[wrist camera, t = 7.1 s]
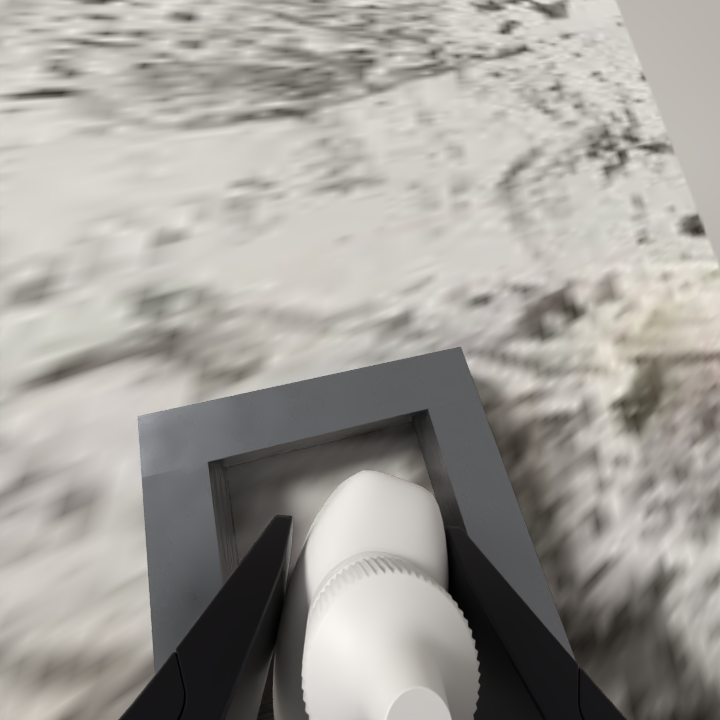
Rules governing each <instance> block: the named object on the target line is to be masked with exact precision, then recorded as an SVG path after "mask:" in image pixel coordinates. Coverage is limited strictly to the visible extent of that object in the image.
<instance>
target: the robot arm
mask: <svg viewBox="0 0 720 720" xmlns="http://www.w3.org/2000/svg"><path fill="white" fill-rule="evenodd" d="M444 531H445V537H446V545H447V554H448V568H449V590H448V594H450V595H451V597H452V599H453V600H454V601H455V602H456V603H457V604H458V608H459V609H460V610H462V611H463V617H464V618H465V619H466V620H468V627H469V628H470V629H471V630H472V638H473V639H474V640H475V649H476V650H477V651H478V654H477V660H478V661H479V662H480V664H479V667H478V672H479V673H480V677H479V680H478V683H479V684H480V688H479V690H478V692H477V693H478V695H479V698H478V700H477V702H476V706H477V709H476V711H475V713H474V714H473V716H474V720H627V719H626V718H625V717H624V716H623V714H622V713H621V712H620V711H619V710H618V709H617V708H616V707H615V705H614V704H613V703H612V702H611V701H610V700H609V699H608V698H607V696H606V695H605V694H604V693H603V692H602V691H601V690H600V689H599V687H598V686H597V685H596V684H595V683H594V682H593V680H592V679H591V678H590V677H589V676H588V675H587V673H586V672H585V671H584V670H583V669H582V668H579V665H578V663H577V662H576V661H575V660H574V658H573V657H572V656H571V655H570V654H569V653H568V651H567V650H566V649H565V648H564V647H563V646H562V645H561V643H560V642H559V641H558V640H557V639H556V638H555V636H554V635H553V634H552V633H551V632H550V631H549V629H548V628H547V627H546V626H545V625H544V624H543V622H542V621H541V620H540V619H539V618H538V617H537V615H536V614H535V613H534V612H533V611H532V610H531V608H530V607H529V606H528V605H527V604H526V603H525V601H524V600H523V599H522V598H521V597H520V596H519V594H518V593H517V592H516V591H515V590H514V589H513V587H512V586H511V585H510V584H509V583H508V582H507V580H506V579H505V578H504V577H503V576H502V575H501V573H500V572H499V571H498V570H497V569H496V568H495V566H494V565H493V564H492V563H491V562H490V561H489V559H488V558H487V557H486V556H485V555H484V554H483V552H482V551H481V550H480V549H479V548H478V547H477V545H476V544H475V543H474V542H473V541H472V540H471V538H470V537H469V536H468V535H467V534H466V533H465V531H464V530H463V529H462V528H460V527H455V526H445V527H444ZM292 534H293V517H292V516H286V515H277V516H275V517H274V518H273V520H272V521H271V522H270V524H269V525H268V526H267V528H266V529H265V530H264V532H263V533H262V534H261V536H260V537H259V538H258V539H257V541H256V542H255V543H254V545H253V546H252V547H251V549H250V550H249V551H248V553H247V554H246V555H245V557H244V558H243V559H242V561H241V562H240V563H239V565H238V566H237V567H236V569H235V570H234V571H233V573H232V574H231V575H230V577H229V578H228V579H227V581H226V582H225V583H224V585H223V586H222V587H221V589H220V590H219V591H218V592H217V594H216V595H215V596H214V598H213V599H212V600H211V602H210V603H209V604H208V606H207V607H206V608H205V610H204V611H203V612H202V614H201V615H200V616H199V618H198V619H197V620H196V622H195V623H194V624H193V626H192V627H191V628H190V630H189V631H188V632H187V634H186V635H185V636H184V638H183V639H182V640H181V642H180V643H179V644H178V645H177V647H176V648H175V652H172V653H171V654H170V656H169V657H168V658H167V660H166V661H165V662H164V664H163V665H162V666H161V668H160V669H159V670H158V672H157V673H156V674H155V676H154V677H153V678H152V679H151V681H150V682H149V683H148V684H147V686H146V687H145V688H144V689H143V691H142V692H141V693H140V694H139V696H138V697H137V698H136V700H135V701H134V702H133V703H132V704H131V706H130V707H129V708H128V709H127V710H126V711H125V713H124V714H123V715H122V716H121V717H120V718H119V720H256V719H257V715H258V711H259V707H260V703H261V699H262V695H263V691H264V687H265V683H266V679H267V675H268V671H269V667H270V663H271V659H272V655H273V651H274V647H275V643H276V639H277V633H278V628H279V622H280V617H281V612H282V608H283V604H284V598H285V591H286V584H287V576H288V569H289V562H290V555H291V547H292Z"/></svg>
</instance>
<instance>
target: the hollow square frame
mask: <svg viewBox="0 0 720 720" xmlns="http://www.w3.org/2000/svg"><path fill="white" fill-rule="evenodd" d="M409 422H413V424H414V427H415V430H416V434H417V437H418V440H419V443H420V447H421V450H422V453H423V457H424V460H425V463H426V467H427V470H428V473H429V477H430V480H431V483H432V487H433V490H434V493H435V496H436V500H437V503H438V506H439V509H440V513H441V516H442V520H443V523H444V526H455V527H460V528H462V529H463V530H464V531H465V533H466V534H467V535H468V536H469V537H470V538H471V540H472V541H473V542H474V543H475V544H476V545H477V547H478V548H479V549H480V550H481V551H482V552H483V554H484V555H485V556H486V557H487V558H488V559H489V561H490V562H491V563H492V564H493V565H494V566H495V568H496V569H497V570H498V571H499V572H500V573H501V575H502V576H503V577H504V578H505V579H506V580H507V582H508V583H509V584H510V585H511V586H512V587H513V589H514V590H515V591H516V592H517V593H518V594H519V596H520V597H521V598H522V599H523V600H524V601H525V603H526V604H527V605H528V606H529V607H530V608H531V610H532V611H533V612H534V613H535V614H536V615H537V617H538V618H539V619H540V620H541V621H542V622H543V624H544V625H545V626H546V627H547V628H548V629H549V631H550V632H551V633H552V634H553V635H554V636H555V638H556V639H557V640H558V641H559V642H560V643H561V645H562V646H563V647H564V648H565V649H566V650H567V651H568V653H569V654H570V655H571V656H572V657H573V658H574V660H575V657H574V655H573V652H572V649H571V646H570V644H569V641H568V638H567V635H566V633H565V630H564V627H563V625H562V622H561V619H560V616H559V614H558V611H557V608H556V605H555V603H554V600H553V597H552V595H551V592H550V589H549V586H548V584H547V581H546V578H545V575H544V573H543V570H542V567H541V565H540V562H539V559H538V556H537V554H536V551H535V548H534V545H533V543H532V540H531V537H530V534H529V532H528V529H527V526H526V524H525V521H524V518H523V515H522V513H521V510H520V507H519V504H518V502H517V499H516V496H515V494H514V491H513V488H512V485H511V483H510V480H509V477H508V474H507V472H506V469H505V466H504V464H503V461H502V458H501V455H500V453H499V450H498V447H497V444H496V442H495V439H494V436H493V433H492V431H491V428H490V425H489V423H488V420H487V417H486V414H485V412H484V409H483V406H482V403H481V401H480V398H479V395H478V393H477V390H476V387H475V384H474V382H473V379H472V376H471V373H470V371H469V368H468V365H467V363H466V360H465V357H464V354H463V352H462V349H461V347H457V348H452V349H448V350H443V351H438V352H434V353H429V354H424V355H420V356H415V357H411V358H406V359H401V360H397V361H392V362H387V363H383V364H378V365H373V366H369V367H364V368H360V369H355V370H350V371H346V372H341V373H336V374H332V375H327V376H322V377H318V378H313V379H309V380H304V381H299V382H295V383H290V384H285V385H281V386H276V387H271V388H267V389H262V390H257V391H253V392H248V393H244V394H239V395H234V396H230V397H225V398H220V399H216V400H211V401H206V402H202V403H197V404H193V405H188V406H183V407H179V408H174V409H169V410H165V411H160V412H155V413H151V414H146V415H142V416H138V427H139V442H140V457H141V472H142V487H143V502H144V517H145V532H146V547H147V562H148V577H149V592H150V607H151V622H152V637H153V652H154V668H155V674H156V673H157V672H158V670H159V669H160V668H161V666H162V665H163V664H164V662H165V661H166V660H167V658H168V657H169V656H170V654H171V653H172V652H175V648H176V647H177V645H178V644H179V643H180V642H181V640H182V639H183V638H184V636H185V635H186V634H187V632H188V631H189V630H190V628H191V627H192V626H193V624H194V623H195V622H196V620H197V619H198V618H199V616H200V615H201V614H202V612H203V611H204V610H205V608H206V607H207V606H208V604H209V603H210V602H211V600H212V599H213V598H214V596H215V595H216V594H217V592H218V591H219V590H220V589H221V587H222V586H223V585H224V583H225V582H226V581H227V579H228V578H229V577H230V575H231V574H232V573H233V571H234V570H235V569H236V567H237V566H238V565H239V561H238V553H237V546H236V539H235V531H234V524H233V517H232V509H231V502H230V495H229V487H228V480H227V473H226V467H230V466H234V465H238V464H242V463H246V462H250V461H254V460H258V459H262V458H266V457H270V456H274V455H278V454H283V453H287V452H291V451H295V450H299V449H303V448H307V447H311V446H315V445H319V444H323V443H327V442H331V441H335V440H339V439H343V438H348V437H352V436H356V435H360V434H364V433H368V432H372V431H376V430H380V429H384V428H388V427H392V426H396V425H400V424H404V423H409ZM575 661H576V660H575ZM256 720H274V711H273V702H271V703H268V704H265V705H262V706H260V707H259V711H258V715H257V719H256Z"/></svg>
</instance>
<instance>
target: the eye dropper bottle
mask: <svg viewBox="0 0 720 720" xmlns="http://www.w3.org/2000/svg"><path fill="white" fill-rule="evenodd" d="M448 590H449V568H448V554H447V545H446V537H445V531H444V525H443V520H442V517H441V513H440V509H439V506H438V504H437V502H436V500H435V498H434V496H433V494H431V493H430V492H429V491H427V490H426V489H425V488H423V487H421V486H419V485H416V484H414V483H412V482H409V481H406V480H403V479H400V478H397V477H394V476H391V475H388V474H385V473H381V472H378V471H374V470H362V471H360V472H358V473H356V474H354V475H353V476H351V477H349V478H348V479H346V480H345V481H344V482H342V483H341V484H340V485H339V486H338V487H337V488H336V489H335V490H334V491H333V493H332V494H331V495H330V496H329V498H328V499H327V500H326V502H325V503H324V505H323V506H322V508H321V509H320V511H319V513H318V514H317V516H316V518H315V520H314V522H313V524H312V526H311V528H310V530H309V532H308V535H307V537H306V539H305V542H304V544H303V547H302V550H301V552H300V555H299V557H298V560H297V563H296V565H295V568H294V571H293V573H292V576H291V579H290V583H289V586H288V589H287V592H286V596H285V600H284V604H283V608H282V612H281V617H280V622H279V628H278V633H277V640H276V647H275V657H274V668H273V711H274V720H474V716H473V714H474V713H475V711H476V709H477V706H476V702H477V700H478V698H479V695H478V693H477V692H478V690H479V688H480V684H479V683H478V680H479V677H480V673H479V672H478V667H479V664H480V662H479V661H478V660H477V654H478V651H477V650H476V649H475V640H474V639H473V638H472V630H471V629H470V628H469V627H468V620H466V619H465V618H464V617H463V611H462V610H460V609H459V608H458V604H457V603H456V602H455V601H454V600H453V599H452V597H451V595H450V594H448Z"/></svg>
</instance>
